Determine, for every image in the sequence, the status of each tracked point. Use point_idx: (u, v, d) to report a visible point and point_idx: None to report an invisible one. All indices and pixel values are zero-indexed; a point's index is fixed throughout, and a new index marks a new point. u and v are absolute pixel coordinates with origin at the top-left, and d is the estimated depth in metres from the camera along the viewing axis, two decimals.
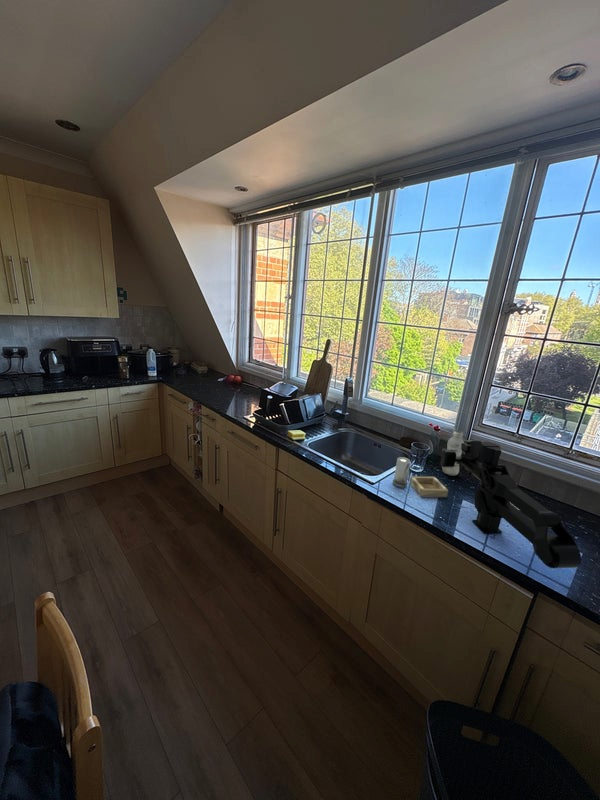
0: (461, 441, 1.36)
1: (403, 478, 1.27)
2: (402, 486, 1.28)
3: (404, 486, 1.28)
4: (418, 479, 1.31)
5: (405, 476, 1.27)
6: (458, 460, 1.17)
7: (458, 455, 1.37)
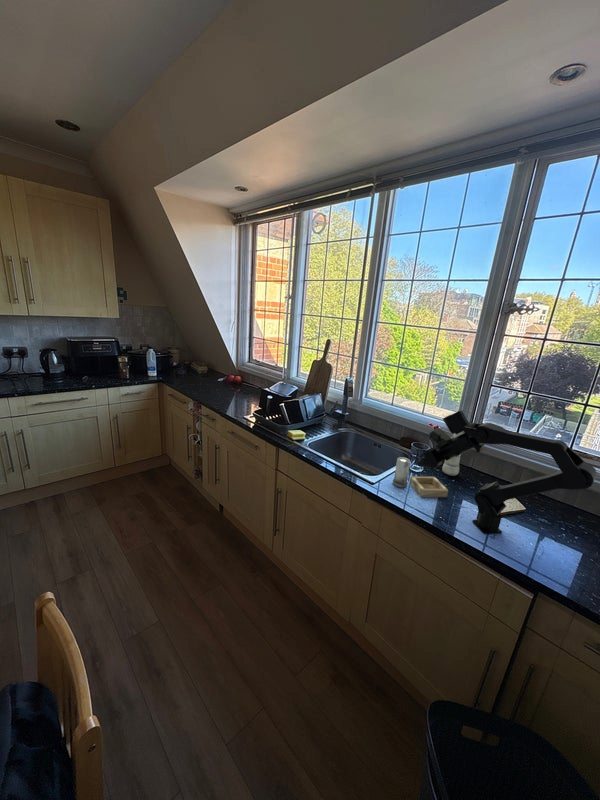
0: None
1: (403, 478, 1.27)
2: (402, 486, 1.28)
3: (404, 486, 1.28)
4: (418, 479, 1.31)
5: (405, 476, 1.27)
6: (440, 454, 1.12)
7: (458, 455, 1.37)
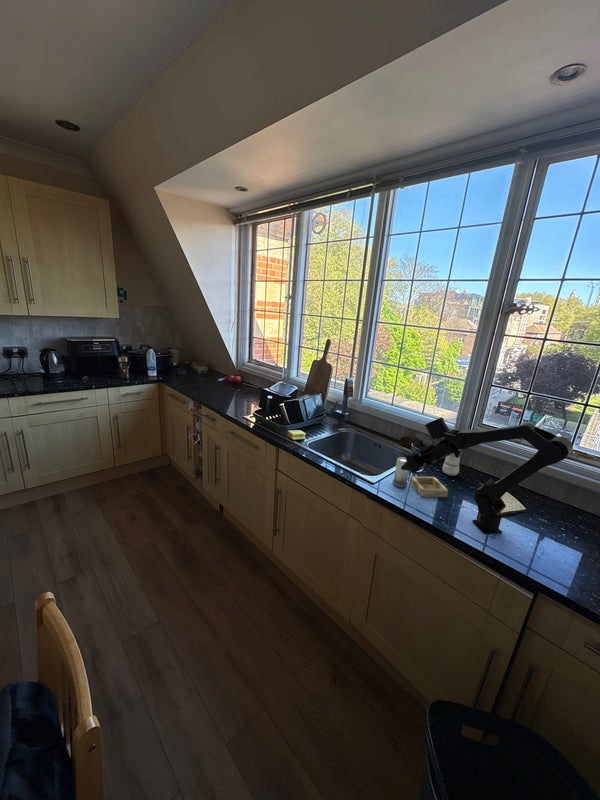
0: None
1: (403, 478, 1.27)
2: (402, 486, 1.28)
3: (404, 486, 1.28)
4: (418, 479, 1.31)
5: (405, 476, 1.27)
6: (421, 459, 1.18)
7: None
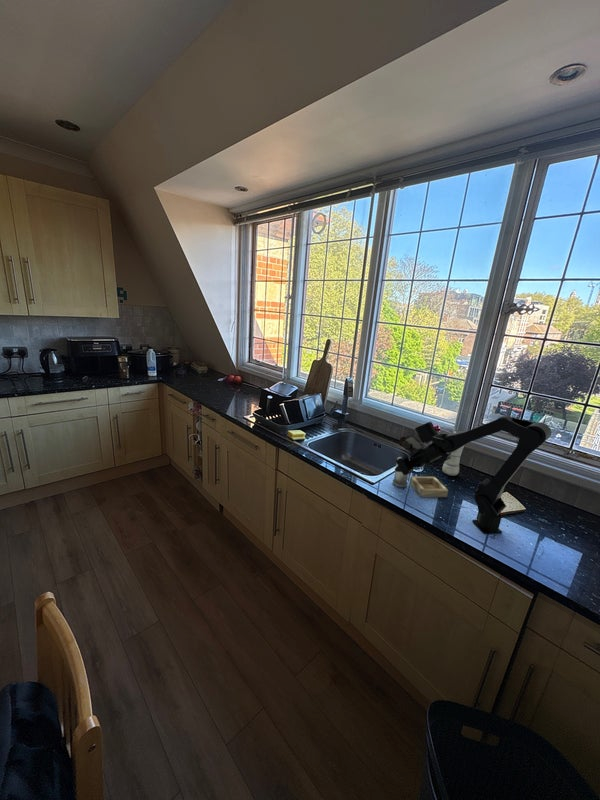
0: None
1: (403, 478, 1.27)
2: (402, 486, 1.28)
3: (404, 486, 1.28)
4: (418, 479, 1.31)
5: (405, 476, 1.27)
6: (411, 462, 1.21)
7: (458, 455, 1.37)
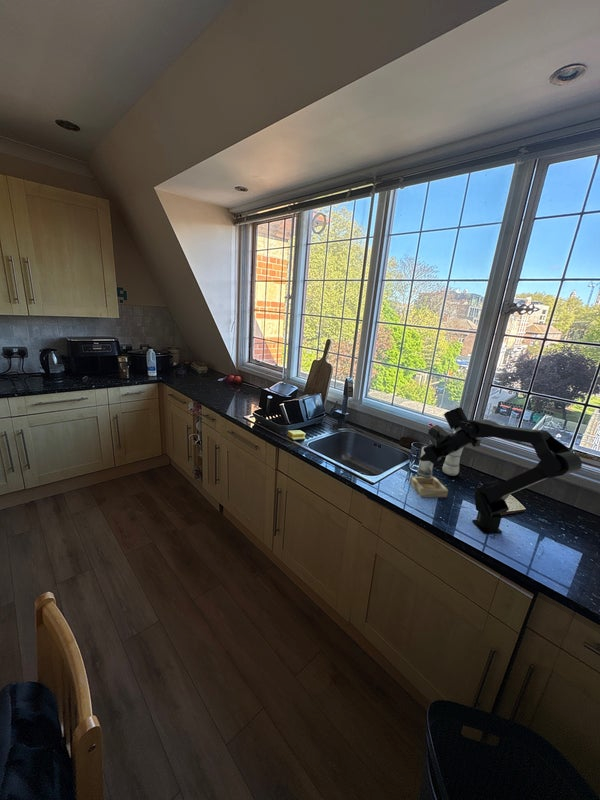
0: None
1: (429, 467, 1.23)
2: (428, 476, 1.24)
3: (430, 476, 1.24)
4: (418, 479, 1.31)
5: (431, 465, 1.23)
6: (439, 450, 1.17)
7: (458, 455, 1.37)
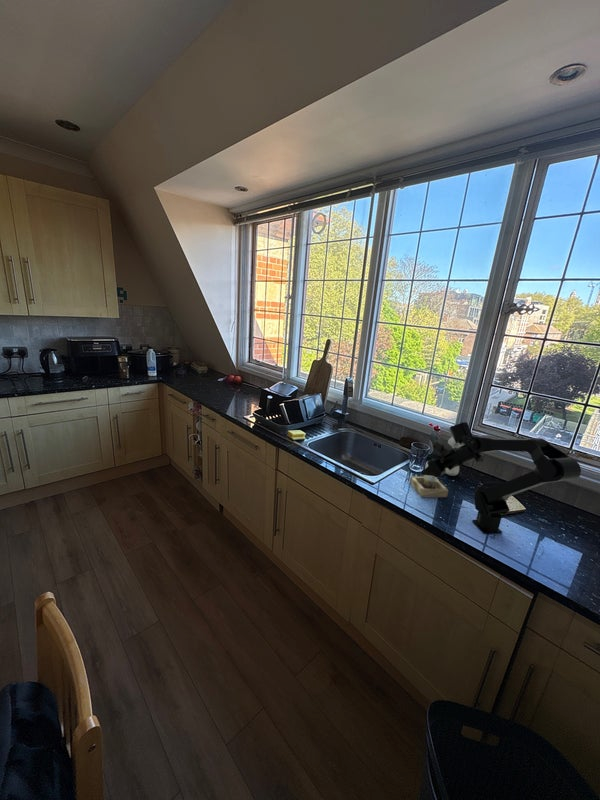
0: None
1: (432, 482, 1.24)
2: None
3: None
4: (418, 479, 1.31)
5: (434, 480, 1.24)
6: (443, 463, 1.18)
7: None
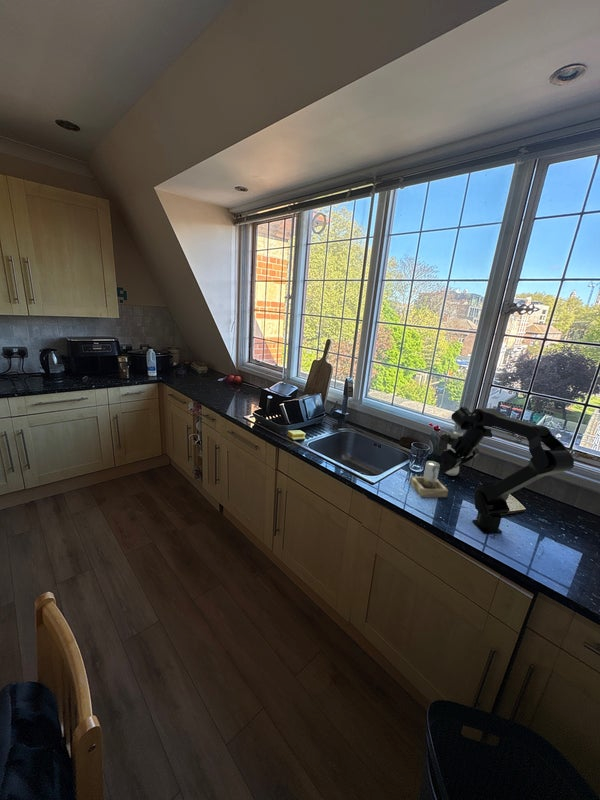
0: None
1: (432, 482, 1.24)
2: None
3: None
4: (418, 479, 1.31)
5: (434, 480, 1.24)
6: (456, 453, 1.14)
7: None
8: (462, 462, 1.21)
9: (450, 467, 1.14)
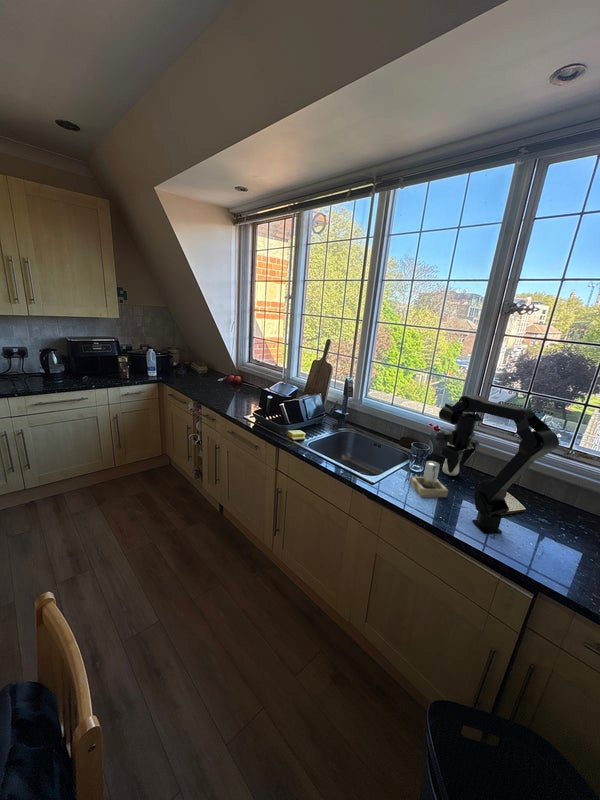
0: None
1: (432, 482, 1.24)
2: None
3: None
4: (418, 479, 1.31)
5: (434, 480, 1.24)
6: (456, 447, 1.14)
7: None
8: (467, 457, 1.20)
9: (455, 463, 1.12)
